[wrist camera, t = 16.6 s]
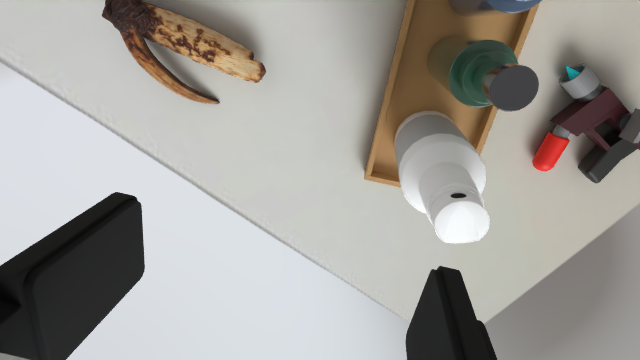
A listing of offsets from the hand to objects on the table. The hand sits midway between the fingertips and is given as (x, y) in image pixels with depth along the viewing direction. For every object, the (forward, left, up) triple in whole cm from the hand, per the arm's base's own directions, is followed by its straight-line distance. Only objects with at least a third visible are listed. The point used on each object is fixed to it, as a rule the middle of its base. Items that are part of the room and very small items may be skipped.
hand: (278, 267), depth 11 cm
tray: (-4, +10, -30) cm, 32 cm away
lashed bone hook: (-1, -18, -31) cm, 35 cm away
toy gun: (-1, +23, -31) cm, 38 cm away
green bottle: (-6, +10, -30) cm, 32 cm away
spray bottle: (+3, +10, -30) cm, 32 cm away
